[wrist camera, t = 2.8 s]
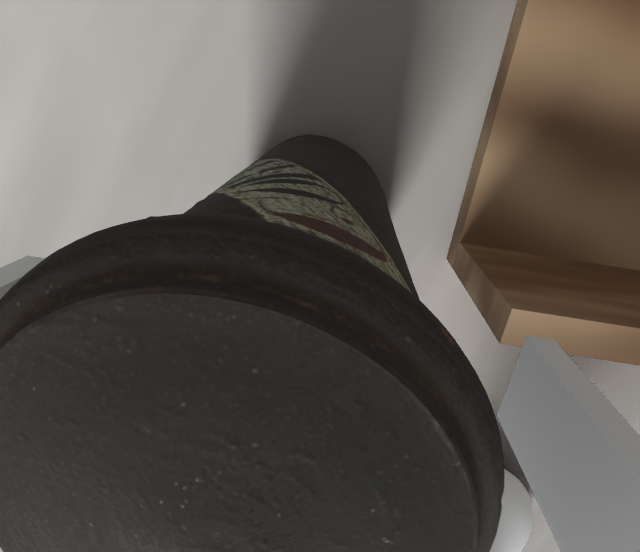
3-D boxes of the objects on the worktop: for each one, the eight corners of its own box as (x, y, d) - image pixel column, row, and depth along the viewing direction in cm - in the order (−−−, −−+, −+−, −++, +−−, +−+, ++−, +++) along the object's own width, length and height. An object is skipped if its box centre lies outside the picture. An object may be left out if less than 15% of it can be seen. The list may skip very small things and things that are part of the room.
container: (356, 103, 22) (392, 95, 3) (413, 253, 25) (600, 690, 6) (214, 170, 24) (-266, 402, 5) (283, 303, 27) (130, 754, 8)
